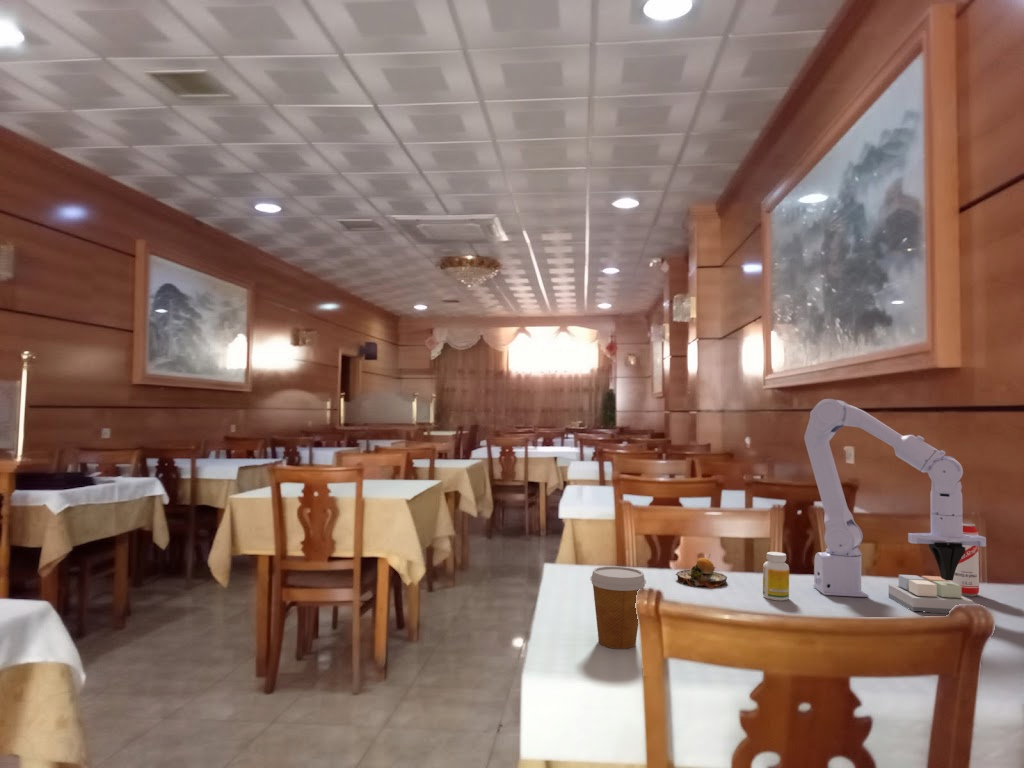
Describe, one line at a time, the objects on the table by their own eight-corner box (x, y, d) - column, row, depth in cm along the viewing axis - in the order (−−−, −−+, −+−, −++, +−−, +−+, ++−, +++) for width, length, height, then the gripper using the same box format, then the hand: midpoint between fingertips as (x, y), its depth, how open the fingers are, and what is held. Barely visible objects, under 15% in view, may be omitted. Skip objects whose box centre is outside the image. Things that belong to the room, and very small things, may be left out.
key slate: (906, 589, 146) (906, 578, 146) (898, 585, 150) (898, 574, 150) (925, 590, 145) (925, 579, 146) (916, 586, 149) (916, 575, 149)
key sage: (941, 596, 141) (941, 585, 141) (932, 592, 144) (932, 580, 144) (961, 597, 140) (961, 586, 140) (951, 593, 144) (951, 581, 144)
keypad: (913, 611, 140) (913, 598, 140) (888, 597, 151) (888, 584, 151) (973, 615, 138) (973, 601, 138) (943, 599, 150) (943, 587, 150)
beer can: (984, 598, 152) (983, 526, 153) (953, 596, 154) (953, 524, 154) (971, 591, 159) (971, 522, 159) (941, 589, 160) (941, 521, 161)
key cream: (917, 595, 141) (917, 583, 141) (908, 591, 145) (908, 579, 145) (936, 596, 141) (936, 584, 141) (927, 591, 144) (927, 580, 145)
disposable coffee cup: (597, 630, 122) (598, 563, 122) (650, 638, 118) (651, 569, 119) (582, 647, 113) (583, 574, 114) (638, 656, 109) (640, 580, 110)
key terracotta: (930, 591, 145) (930, 579, 145) (921, 586, 149) (921, 575, 149) (949, 592, 145) (949, 580, 145) (940, 587, 149) (940, 576, 149)
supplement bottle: (757, 595, 150) (757, 551, 150) (777, 593, 152) (777, 550, 152) (774, 601, 145) (775, 556, 145) (794, 600, 147) (794, 555, 147)
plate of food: (714, 576, 168) (715, 546, 169) (736, 588, 157) (736, 556, 157) (668, 576, 167) (668, 546, 167) (687, 589, 155) (687, 556, 156)
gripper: (919, 515, 140) (919, 582, 139) (994, 518, 138) (995, 585, 138) (903, 511, 147) (903, 574, 146) (974, 513, 145) (975, 577, 145)
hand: (947, 579), depth 142 cm, fingers closed
